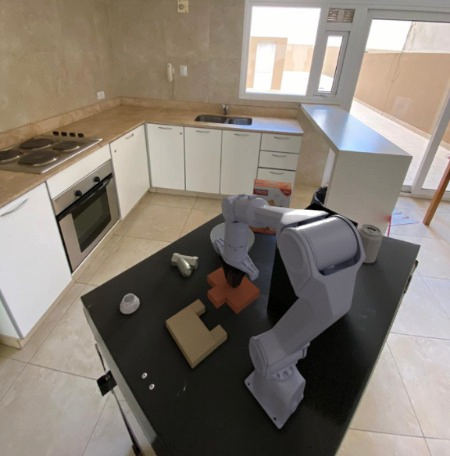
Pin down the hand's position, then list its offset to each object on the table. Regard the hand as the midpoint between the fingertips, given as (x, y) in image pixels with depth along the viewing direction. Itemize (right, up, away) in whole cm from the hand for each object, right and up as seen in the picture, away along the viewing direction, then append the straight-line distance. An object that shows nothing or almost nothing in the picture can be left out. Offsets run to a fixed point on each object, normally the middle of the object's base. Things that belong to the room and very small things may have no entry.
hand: (233, 281), depth 66 cm
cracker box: (+15, +3, +36) cm, 39 cm away
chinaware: (0, -1, +23) cm, 23 cm away
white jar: (-28, -8, +3) cm, 29 cm away
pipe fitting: (-16, -4, +15) cm, 22 cm away
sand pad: (-9, -11, -3) cm, 15 cm away
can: (+47, -3, +24) cm, 53 cm away
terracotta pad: (-1, -2, 0) cm, 3 cm away
